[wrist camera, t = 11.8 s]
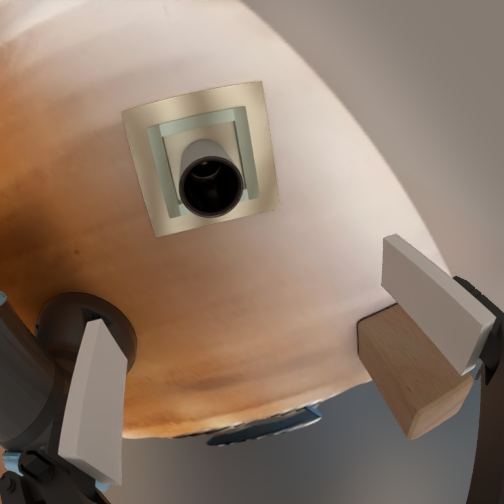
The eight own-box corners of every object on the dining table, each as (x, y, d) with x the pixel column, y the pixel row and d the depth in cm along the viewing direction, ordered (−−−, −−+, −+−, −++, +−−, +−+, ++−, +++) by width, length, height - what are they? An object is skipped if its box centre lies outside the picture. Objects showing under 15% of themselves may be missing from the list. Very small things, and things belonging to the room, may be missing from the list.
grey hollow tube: (179, 180, 30) (176, 217, 21) (183, 137, 28) (181, 153, 19) (223, 183, 31) (239, 220, 22) (228, 140, 29) (248, 158, 20)
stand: (156, 234, 33) (154, 243, 31) (123, 111, 26) (118, 112, 24) (278, 205, 35) (284, 213, 33) (259, 81, 28) (265, 80, 26)
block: (355, 320, 46) (419, 417, 29) (406, 297, 47) (477, 379, 30) (357, 357, 51) (408, 444, 34) (402, 335, 52) (460, 412, 35)
